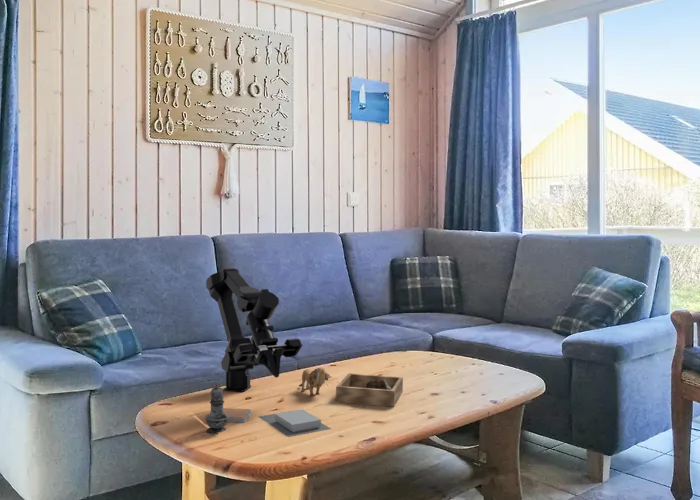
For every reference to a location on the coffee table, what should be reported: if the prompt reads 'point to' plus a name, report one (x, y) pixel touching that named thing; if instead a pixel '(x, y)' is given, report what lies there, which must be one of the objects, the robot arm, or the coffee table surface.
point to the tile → (298, 420)
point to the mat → (271, 420)
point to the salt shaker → (216, 412)
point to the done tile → (237, 414)
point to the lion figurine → (314, 379)
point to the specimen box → (369, 390)
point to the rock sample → (378, 385)
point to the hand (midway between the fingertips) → (277, 376)
